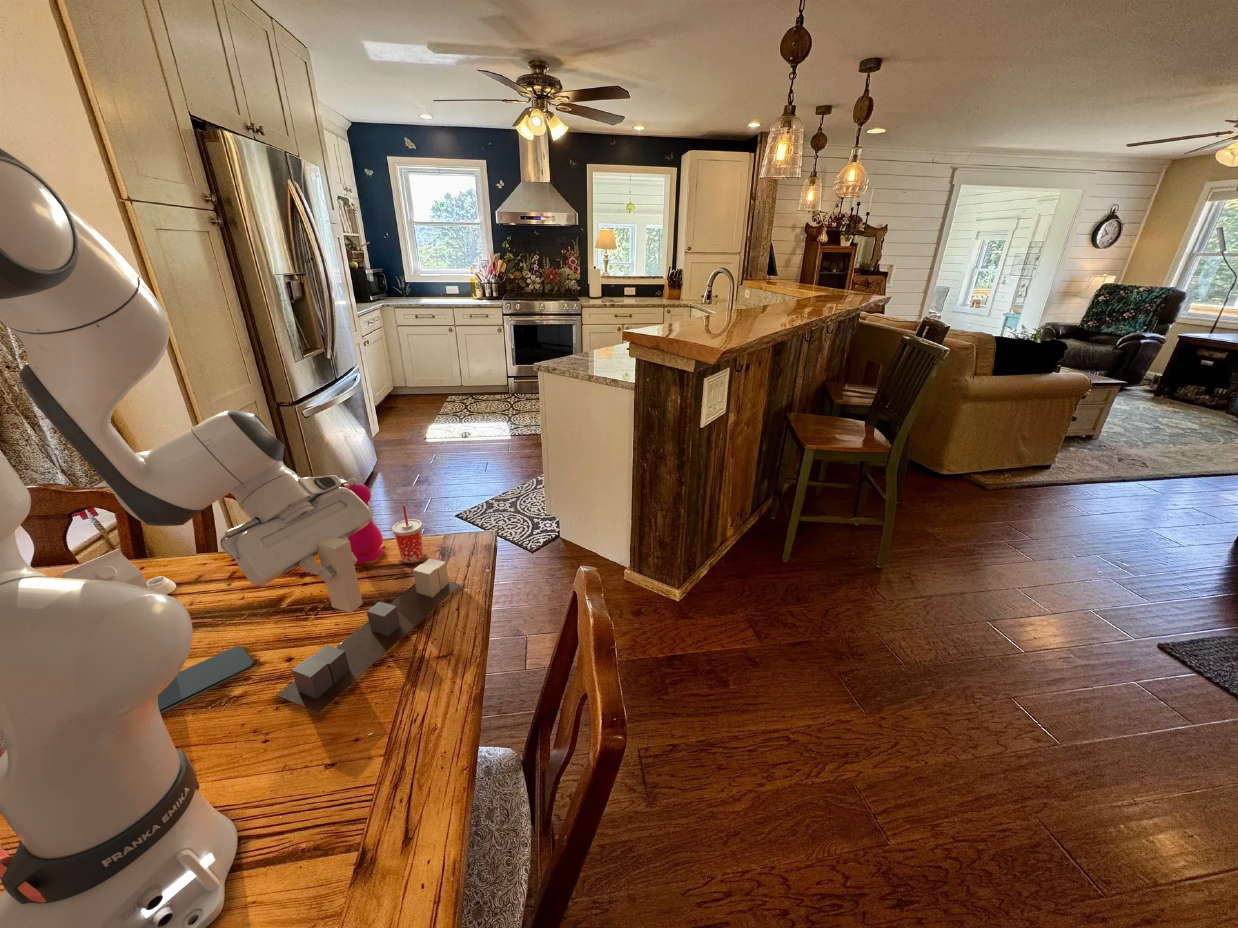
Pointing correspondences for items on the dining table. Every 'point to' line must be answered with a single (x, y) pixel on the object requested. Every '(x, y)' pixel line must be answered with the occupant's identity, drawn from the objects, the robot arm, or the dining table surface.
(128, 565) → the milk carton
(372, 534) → the pepper mill
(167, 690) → the smartphone
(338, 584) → the tall white block
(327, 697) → the shelf plank
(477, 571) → the dining table surface
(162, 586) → the lidless jar
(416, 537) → the beverage cup
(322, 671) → the dark grey block row
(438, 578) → the cream white block
